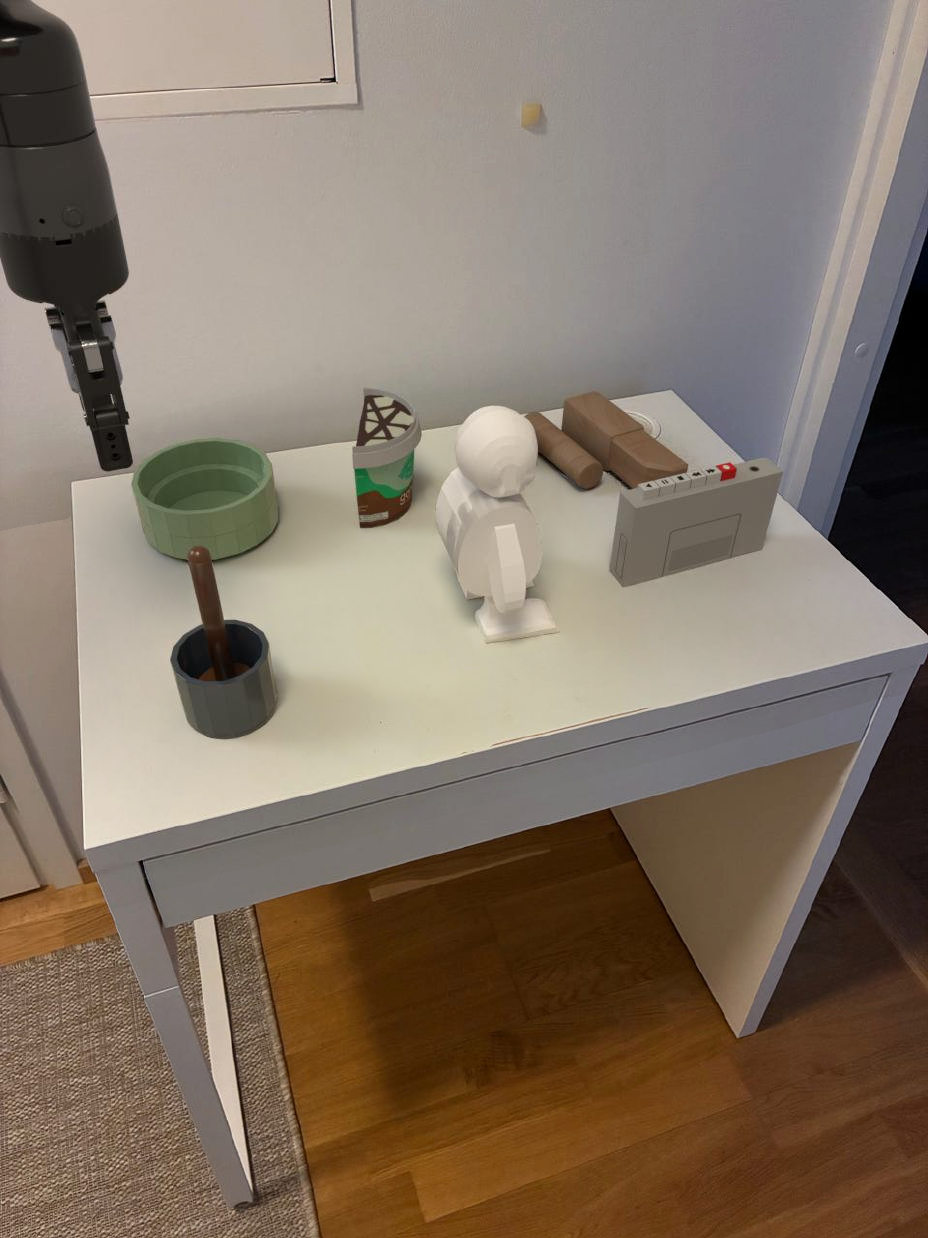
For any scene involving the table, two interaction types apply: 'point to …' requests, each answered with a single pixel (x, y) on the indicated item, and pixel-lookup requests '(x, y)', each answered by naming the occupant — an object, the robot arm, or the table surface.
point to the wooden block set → (602, 444)
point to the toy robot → (495, 523)
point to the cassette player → (693, 519)
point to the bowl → (206, 497)
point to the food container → (385, 457)
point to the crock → (226, 682)
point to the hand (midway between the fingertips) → (107, 437)
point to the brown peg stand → (212, 617)
